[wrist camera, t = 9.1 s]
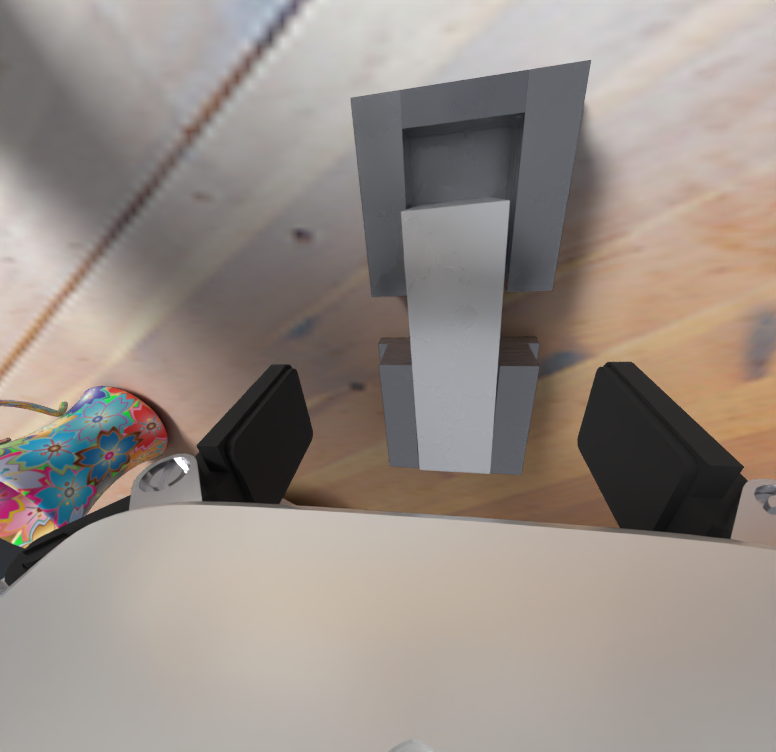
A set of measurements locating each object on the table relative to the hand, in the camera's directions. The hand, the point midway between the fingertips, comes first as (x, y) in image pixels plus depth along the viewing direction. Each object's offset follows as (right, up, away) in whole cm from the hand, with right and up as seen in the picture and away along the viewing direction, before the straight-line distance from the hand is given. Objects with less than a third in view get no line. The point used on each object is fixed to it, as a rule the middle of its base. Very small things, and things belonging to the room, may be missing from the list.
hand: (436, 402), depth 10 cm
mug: (-27, -2, +20) cm, 34 cm away
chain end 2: (+3, 0, +13) cm, 13 cm away
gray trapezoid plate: (+2, +5, +9) cm, 10 cm away
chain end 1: (+2, +10, +7) cm, 13 cm away
